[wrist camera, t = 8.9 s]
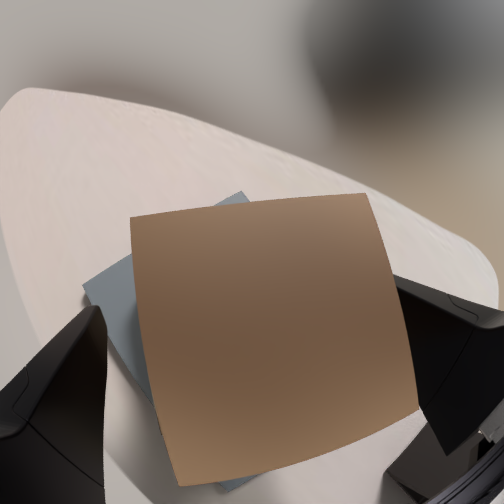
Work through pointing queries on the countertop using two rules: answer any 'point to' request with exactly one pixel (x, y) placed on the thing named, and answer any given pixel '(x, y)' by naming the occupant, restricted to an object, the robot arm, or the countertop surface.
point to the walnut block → (269, 332)
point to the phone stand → (430, 465)
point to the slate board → (133, 320)
